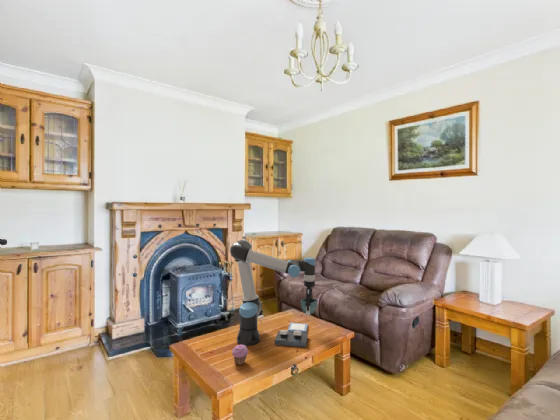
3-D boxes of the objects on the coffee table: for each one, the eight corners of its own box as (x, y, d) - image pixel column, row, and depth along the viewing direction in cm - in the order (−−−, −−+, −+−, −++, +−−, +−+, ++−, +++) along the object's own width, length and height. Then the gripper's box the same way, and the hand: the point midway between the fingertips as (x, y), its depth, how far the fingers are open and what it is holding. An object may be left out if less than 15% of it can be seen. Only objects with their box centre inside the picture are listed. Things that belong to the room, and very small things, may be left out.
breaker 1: (279, 334, 197) (279, 330, 197) (281, 333, 204) (281, 329, 205) (286, 334, 196) (286, 330, 197) (288, 333, 203) (288, 330, 204)
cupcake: (229, 364, 171) (229, 346, 171) (238, 357, 178) (238, 340, 178) (241, 368, 166) (241, 350, 166) (251, 361, 174) (251, 344, 174)
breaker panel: (274, 344, 194) (274, 338, 194) (278, 335, 208) (278, 329, 208) (305, 347, 191) (305, 340, 191) (307, 337, 205) (307, 331, 205)
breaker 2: (293, 335, 195) (293, 331, 196) (294, 334, 203) (295, 330, 203) (300, 335, 194) (300, 331, 195) (301, 334, 202) (301, 331, 203)
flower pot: (310, 316, 203) (311, 303, 203) (299, 313, 209) (300, 300, 209) (317, 312, 210) (318, 299, 210) (306, 309, 216) (307, 297, 216)
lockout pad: (287, 332, 214) (287, 329, 214) (290, 324, 226) (290, 322, 226) (306, 333, 211) (306, 331, 211) (307, 325, 224) (307, 323, 224)
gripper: (313, 285, 197) (312, 319, 198) (316, 276, 220) (315, 307, 220) (301, 284, 199) (301, 317, 199) (305, 276, 221) (305, 306, 222)
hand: (308, 312), depth 210 cm, fingers closed on flower pot, 10 cm apart
